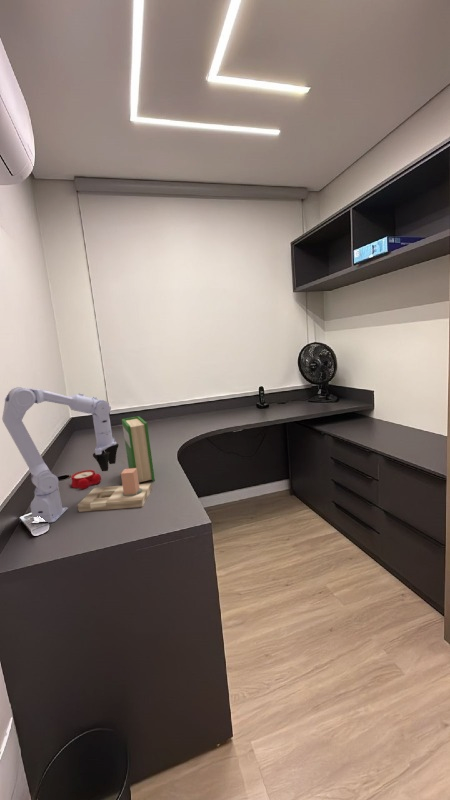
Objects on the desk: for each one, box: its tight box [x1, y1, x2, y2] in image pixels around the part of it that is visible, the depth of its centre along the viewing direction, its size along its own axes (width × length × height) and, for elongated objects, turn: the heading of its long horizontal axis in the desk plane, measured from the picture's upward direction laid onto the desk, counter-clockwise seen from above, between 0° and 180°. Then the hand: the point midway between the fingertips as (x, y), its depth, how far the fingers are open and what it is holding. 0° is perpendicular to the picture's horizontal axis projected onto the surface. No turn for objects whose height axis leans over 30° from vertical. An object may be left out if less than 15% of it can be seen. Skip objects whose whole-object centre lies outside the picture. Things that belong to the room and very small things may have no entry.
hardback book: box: [121, 415, 156, 483], centre depth 144 cm, size 18×7×24 cm, turn 24°
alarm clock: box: [68, 469, 102, 490], centre depth 143 cm, size 10×6×15 cm
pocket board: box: [77, 482, 153, 513], centre depth 124 cm, size 14×22×3 cm, turn 89°
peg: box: [120, 468, 140, 495], centre depth 123 cm, size 4×4×8 cm
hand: (108, 467), depth 129 cm, fingers open, 7 cm apart
